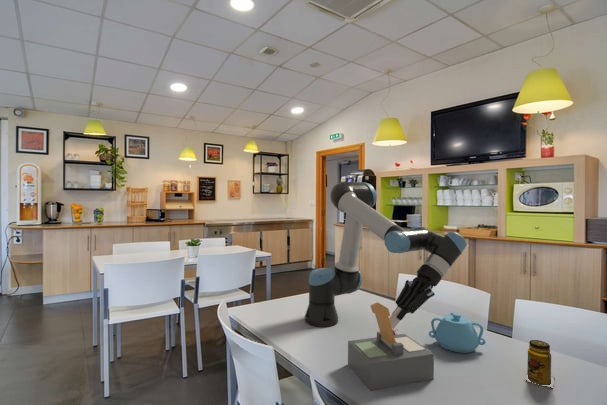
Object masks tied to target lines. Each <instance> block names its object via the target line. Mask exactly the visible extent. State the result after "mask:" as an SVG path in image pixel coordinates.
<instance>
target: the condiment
mask: <svg viewBox="0 0 607 405" xmlns="http://www.w3.org/2000/svg"><path fill="white" fill-rule="evenodd" d="M528 343H529V346H528V347H529V348H528V349H527V369H526V370H527V371H526V375H528V379H529V380H530V381H531V382H533V383H536V384H539V385H538V386H540V385H550V384H551V377H552V354H551V350H550V349H551V346H550V344H549V343H548V342H546V341H543V340H538V339H530V340H529V342H528ZM526 375H525V376H526ZM524 381H525V382H527V383H531V382H528V381H526V380H525V379H524ZM533 383H531V384H533ZM536 384H535V385H536ZM546 388H547V389H551V388H550V387H546Z"/></svg>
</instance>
